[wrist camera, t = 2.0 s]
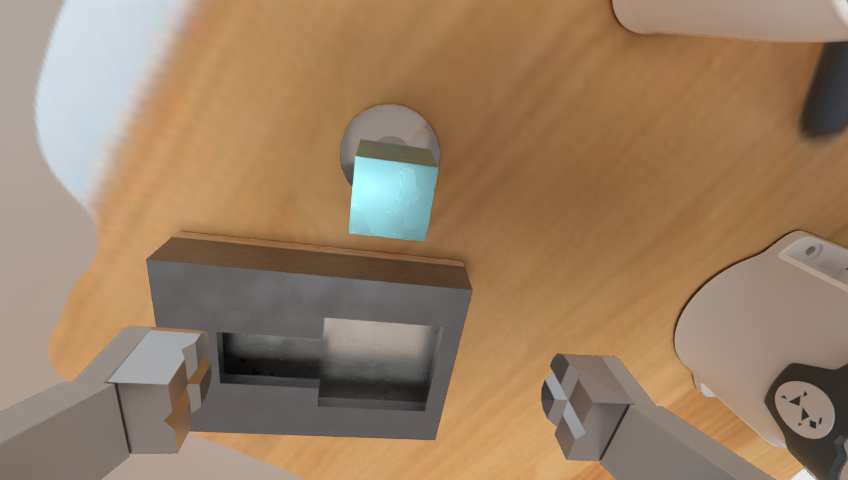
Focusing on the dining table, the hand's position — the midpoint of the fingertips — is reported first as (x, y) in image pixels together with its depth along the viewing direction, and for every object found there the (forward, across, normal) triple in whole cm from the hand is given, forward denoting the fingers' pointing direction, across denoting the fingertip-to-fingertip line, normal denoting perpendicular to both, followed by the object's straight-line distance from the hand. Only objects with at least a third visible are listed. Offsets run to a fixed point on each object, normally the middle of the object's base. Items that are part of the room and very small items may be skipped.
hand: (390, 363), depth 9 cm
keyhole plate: (+21, +4, +16) cm, 27 cm away
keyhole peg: (+21, 0, 0) cm, 21 cm away
